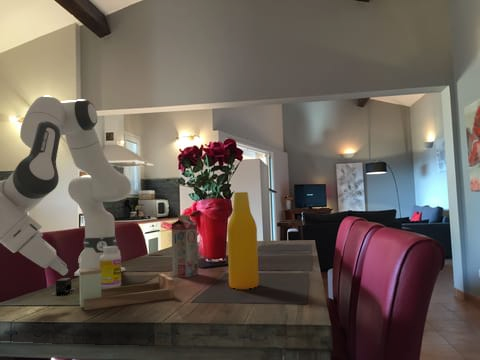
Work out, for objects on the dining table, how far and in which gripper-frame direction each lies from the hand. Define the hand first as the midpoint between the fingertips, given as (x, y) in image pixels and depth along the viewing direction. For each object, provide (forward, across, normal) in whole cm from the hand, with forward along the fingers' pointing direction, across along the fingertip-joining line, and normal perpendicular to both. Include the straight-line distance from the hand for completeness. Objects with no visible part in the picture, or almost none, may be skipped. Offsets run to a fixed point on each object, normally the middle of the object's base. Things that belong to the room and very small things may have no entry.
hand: (65, 270), depth 100 cm
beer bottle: (+42, +3, +28) cm, 51 cm away
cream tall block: (+11, -1, -3) cm, 11 cm away
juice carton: (+36, -27, +22) cm, 50 cm away
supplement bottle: (+17, -22, +3) cm, 28 cm away
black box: (+7, -21, -7) cm, 24 cm away
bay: (+17, -1, +4) cm, 18 cm away
